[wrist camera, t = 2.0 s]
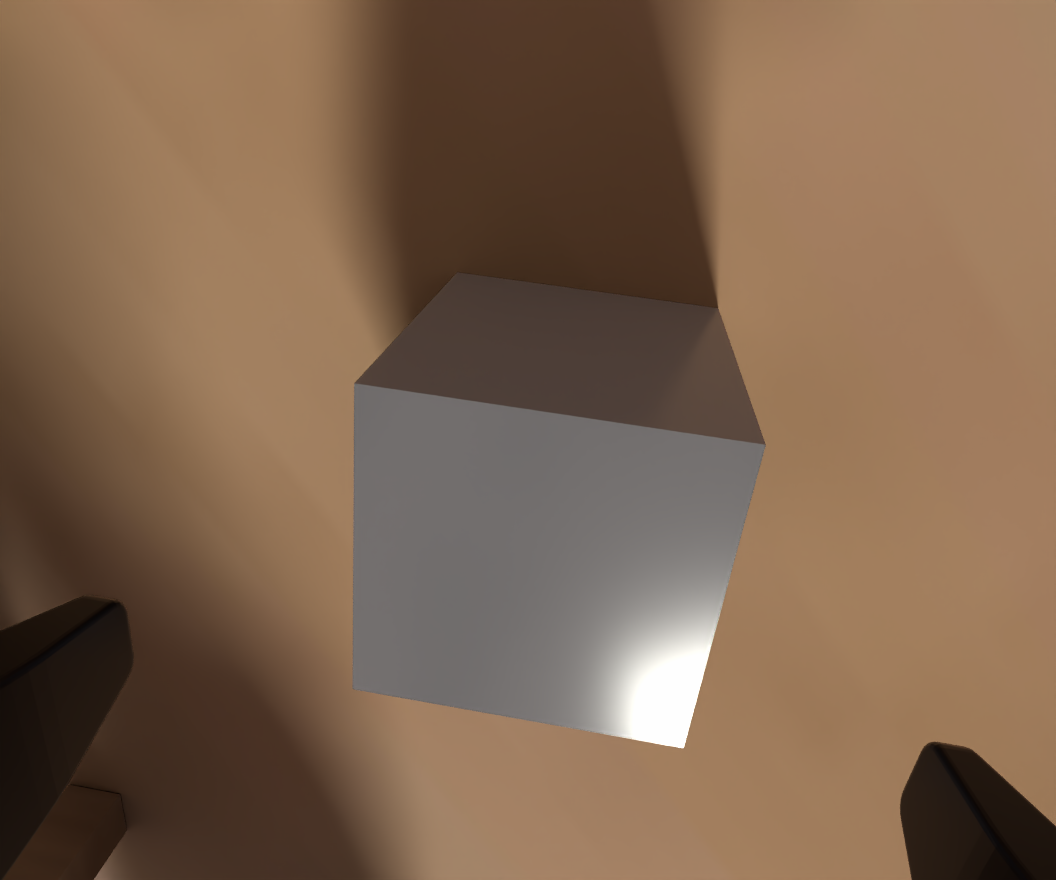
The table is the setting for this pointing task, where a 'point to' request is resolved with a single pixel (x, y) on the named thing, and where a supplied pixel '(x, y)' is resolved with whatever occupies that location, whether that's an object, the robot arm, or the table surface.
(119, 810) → the frame
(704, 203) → the table surface
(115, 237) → the table surface
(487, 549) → the stone
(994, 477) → the table surface
